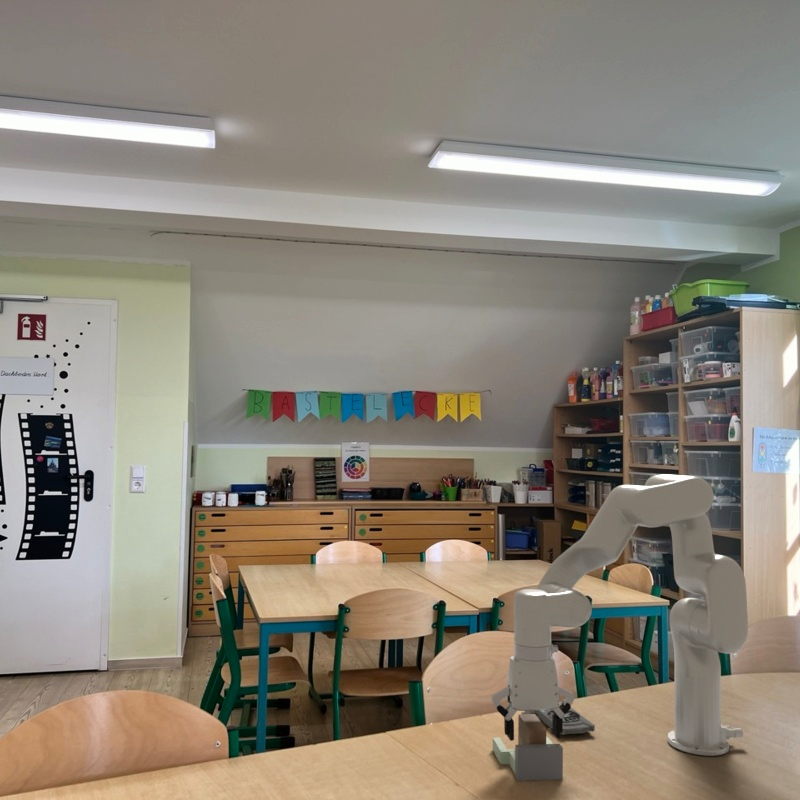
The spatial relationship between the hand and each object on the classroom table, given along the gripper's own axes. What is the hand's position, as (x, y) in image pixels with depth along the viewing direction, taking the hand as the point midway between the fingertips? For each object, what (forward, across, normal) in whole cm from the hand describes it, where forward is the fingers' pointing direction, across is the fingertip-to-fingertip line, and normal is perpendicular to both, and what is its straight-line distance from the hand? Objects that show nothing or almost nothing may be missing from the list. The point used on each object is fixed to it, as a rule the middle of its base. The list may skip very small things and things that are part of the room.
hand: (533, 737), depth 151 cm
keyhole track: (+6, +1, -1) cm, 6 cm away
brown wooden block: (+6, 0, 0) cm, 6 cm away
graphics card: (+7, -12, -22) cm, 26 cm away
